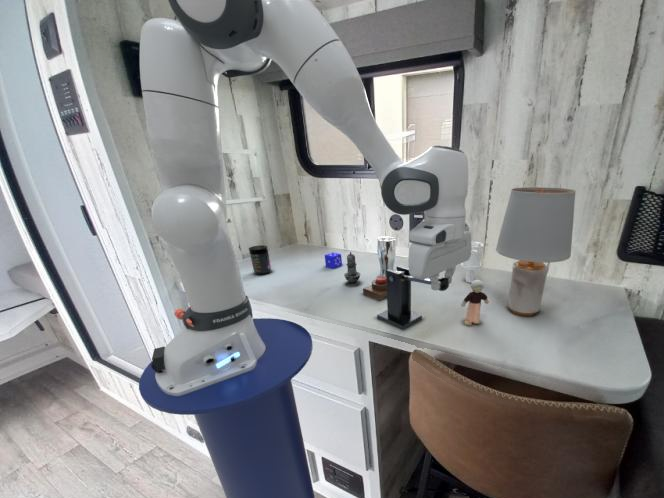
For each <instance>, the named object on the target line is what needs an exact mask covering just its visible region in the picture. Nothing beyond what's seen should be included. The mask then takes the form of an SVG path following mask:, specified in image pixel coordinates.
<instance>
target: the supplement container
mask: <svg viewBox="0 0 664 498" xmlns="http://www.w3.org/2000/svg"><path fill="white" fill-rule="evenodd" d="M248 253H249V256H250V261H251V264H252V265H251V266H252V270H253V273H254V274H255V275H256V276H265V275H269V274H271V273H272V270H273V269H272V265H271V259H270V255H269V248H268V246H267V245H262V244H261V245H259V244H258V245H253V246H250V247H248Z"/></svg>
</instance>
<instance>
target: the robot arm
mask: <svg viewBox="0 0 664 498" xmlns="http://www.w3.org/2000/svg"><path fill="white" fill-rule="evenodd" d="M167 1H168V3H169V6H170V8H171V10H172V12H173V14H174V16H175V17H176V19H171V18H167V17H166V18H165V17H155V18H151V19H150V18H149V19H147V21H145V22H144V23H143V24H142V27H141V30H140V39H139V77H140V78H139V79H140V87H141V95H142V100H143V108H144V116H145V124H146V129H147V136H148V137H147V138H148V143H149V148H150V150H151V152H152V156H153V158H154V163H155V166H156V170H157V174H158V177H159V181H160V186H161V187H160V188H161V193H160V194H159V195H158V196H157V197H156V198H155V200H154V201H153V204H152V207H151V222H152V225H153V228H154V231H155V232H156V233H157V235H158V236H159V238H160V240H161V242H162V245H163V247H164V248H165V250H166V253H167V254H168V257H169V259H170V260H171V262H172V264H173V266H174V267H175V270H176V272H177V273H178V276H179V279H180V282H181V285H182V287H183V290H184V293H185V297H186V299H187V302H188V306H189V307H188V309H187V310H185V309H183V308H177V309H175V311H174V312H173V314H174V316H175V317H176V318H177V319H178V320H180V321H182V323H183V328H181V330H180V331H179V332H178V333H177V334H176V335H175V336H174V337H173V338H172V339H171V340H170V341H169V342H168V343H167V344H166V345H165V346H160V347H156V348H154V349H153V353H152V357H151V362H152V363H151V362H150V363H151V367H152V369H153V370H154V371H156V374H155V378H156V382H157V384H158V386H159V388H160V389H161V390H162V391H163V392H164V393H166V394H168V395H171V396H182V395H185V394H187V393H190V392H193V391H196V390H198V389H201V388H204V387H207V386H209V385H212V384H215V383H218V382H221V381H223V380H226V379H229V378H232V377H234V376H237V375H240V374H243V373H245V372H248V371H251V370H253V369H254V368H255V366H256V363H257V361H258V359H259V358H260V357H261V356H262V355H263V353H264V352H265V349H266V346H265V344H264V342H263V341H262V339H261V338H260V336H259V334H258V332H257V330H256V327H255V325H254V322H253V319H254V318H253V309H252V305H251V302H250V299H249V296H248V295H246V291H245V287H244V282H243V279H242V274H241V271H240V266H239V264H238V260H237V256H236V254H235V251H234V250H235V249H234V247H233V243H232V239H231V236H230V232H229V229H228V224H227V216H228V210H227V199H226V197H227V196H226V185H225V174H224V162H223V151H222V150H223V149H222V148H223V147H222V135H221V134H222V133H221V119H220V104H219V91H218V89H219V88H218V87H219V79H220V77H221V75H222V76H224V77H226V78H228V79H231V78H236V77H243V76H245V77H246V76H256V75H260V74H261V73H263V72H265V71H266V70H267V69H268V68H269V66H270V65H271V63H272V62H274V63H275V64H277V65H278V67H280V69H281V70H282V71H283V72H284V74H285V75H286V77H287V78H288V79H289V81H290V82H291V83H292V85H293V86H294V87H295V89H296V91H297V92H298V93H299V94H300V95H301V97H302V98H303V99H304V101H306V103H307V104H308V105H309V106H310V107H311V108H312V109H313V110H314V111H315V112H316V113H317V114H318V115H319V116H320V117H321V118H322V119H323V120H324V121H326V122H327V123H329V124H330V125H331V126H333V127H334V128H335V129H337V130H338V131H340V132H341V133H342V134H344V135H345V136H346V137H347V138H348V139H349V140H350V141H351V142H352V143H353V144H354V145H355V147H356V148H357V149H358V151H359V152H360V154H361V155H362V156H363V158H364V159H365V160H366V162H367V163H368V164H369V166H370V167H371V169H372V170H373V172H374V173H375V175H376V177H377V179H378V182H379V187H380V192H381V198H382V201H383V203H384V205H385V206H386V208H387V209H388V210H390V211H391V212H392V213H394V214H397V215H401V216H407V215H412V214H417V213H421V212H424V219H423V220H422V221H420V222H419V224H417V225H416V226H415V227H413V228H412V229H411V230H410V231H409V233H408V240H409V241H410V242H411V244H410V245H409V249H408V268H409V273H410V275H411V276H412V277H413V278H416V279H420V280H425V279H430V281H431V285H430V289H431V290H433V291H439V290H438V289H440V288H441V282H439V281H438V279H439V278H440V274H441V273H443V272H444V275H443V276H441V278H446V279H447V280H448V282H449V285H450V284H452V281H453V276H454V274H455V272H456V268H457V267H456V266H457V265H458V266H459V265H461V263H463V262H465V261H467V260H469V258H470V256H471V252H472V251H471V246H472V245H471V242H472V233H471V232H470V226H469V225H468V224H467V222H466V215H467V211H466V206H465V204H466V199H467V196H468V192H469V191H468V189H469V161H468V157H467V155H466V153H465V152H464V151H463V150H461V149H459V148H456V147H452V146H447V145H446V146H445V145H432V146H430V147H429V148H428V149H427V150H425V152H423V153H422V154H420V155H419V156H417V157H414V158H413V159H411V160H409V161H404V160H403V159H402V158H401V157H400V156H399V155H398V154H397V152H396V151H395V149H394V148H393V147H392V145H391V142H389V140H388V138H387V137H386V136H385V134H384V133H383V131H382V130H381V128H380V127H379V125H378V123H377V121H376V119H375V116H374V115H373V112H372V109H371V106H370V103H369V99H368V96H367V92H366V88H365V86H364V82H363V80H362V77H361V75H360V73H359V71H358V68H357V67H356V64H355V63H354V60H353V59H352V56H351V55H350V53H349V51H348V50H347V48H346V46H345V45H344V43H343V42H342V40H341V38H340V37H339V36H338V35H337V34H338V33H336V31H335V30H334V29H333V27H332V26H331V25H330V24H329V22H328V20H327V19H326V18H325V17H324V15H323V14H322V13H321V12H320V10H319V9H318V8H317V7H316V6H315V4H314V3H313V2H312V1H311V0H167Z"/></svg>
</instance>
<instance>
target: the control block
mask: <svg viewBox="0 0 664 498" xmlns="http://www.w3.org/2000/svg"><path fill="white" fill-rule="evenodd" d="M362 294H363V295H365V296H367V297H370V298H372V299H374V300H377V301H382V300H384V299H387V283H386V284H377V283H376V278H375V279H373V280H372V281H371V284H370V285H368V286H364V287H363V288H362Z"/></svg>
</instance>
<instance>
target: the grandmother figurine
mask: <svg viewBox="0 0 664 498" xmlns="http://www.w3.org/2000/svg"><path fill="white" fill-rule="evenodd" d="M484 287H485V284H484V282H483V281H481V280H479V279H474V281H472V282H470V288H471V291H470V292H469V293H468V294H467V295H466V296H465V297H464V298H463V300H462V303H461V304H460V306H461V307H462V308H463V307H465V306H466V305H467V303H468V306H467V309H466V313H465V320H464V325H466V326H472V325H473V324H474V325H480V324H481V321H480V314H481V307H482V301H483V302H484V304H487V305H488V304H489V300H488V299H489V298H488V295H487V294H486V293H485V292H483V291H482V290H483V288H484Z"/></svg>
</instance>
